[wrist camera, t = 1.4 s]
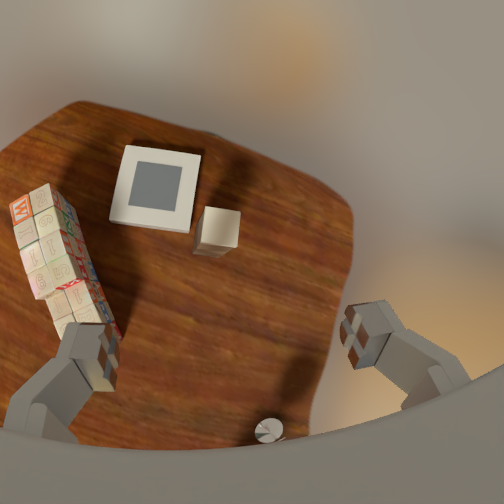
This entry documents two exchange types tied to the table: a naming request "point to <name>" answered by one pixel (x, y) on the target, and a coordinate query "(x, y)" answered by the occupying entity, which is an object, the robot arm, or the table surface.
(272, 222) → the table surface
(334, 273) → the table surface
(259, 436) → the wineglass
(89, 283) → the stack of blocks
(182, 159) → the plate
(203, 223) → the brown tall block
